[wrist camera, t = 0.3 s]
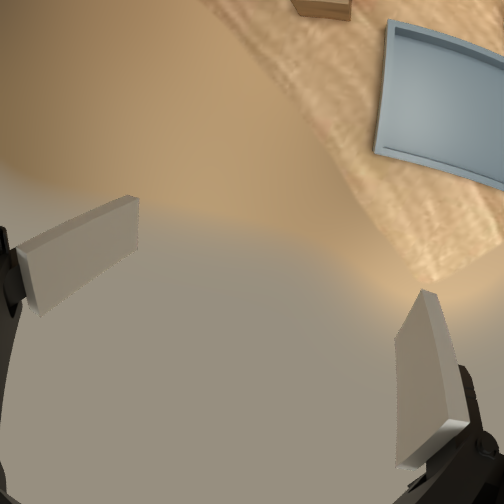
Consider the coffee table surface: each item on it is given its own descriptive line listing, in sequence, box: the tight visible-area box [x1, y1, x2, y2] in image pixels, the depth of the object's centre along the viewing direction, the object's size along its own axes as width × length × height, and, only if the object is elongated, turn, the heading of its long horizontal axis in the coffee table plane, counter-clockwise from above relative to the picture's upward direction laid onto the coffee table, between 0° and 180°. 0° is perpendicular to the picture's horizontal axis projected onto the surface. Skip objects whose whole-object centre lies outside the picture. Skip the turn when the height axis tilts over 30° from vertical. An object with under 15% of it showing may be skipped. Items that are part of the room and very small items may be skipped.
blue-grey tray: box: [373, 19, 504, 191], centre depth 26 cm, size 16×22×4 cm
